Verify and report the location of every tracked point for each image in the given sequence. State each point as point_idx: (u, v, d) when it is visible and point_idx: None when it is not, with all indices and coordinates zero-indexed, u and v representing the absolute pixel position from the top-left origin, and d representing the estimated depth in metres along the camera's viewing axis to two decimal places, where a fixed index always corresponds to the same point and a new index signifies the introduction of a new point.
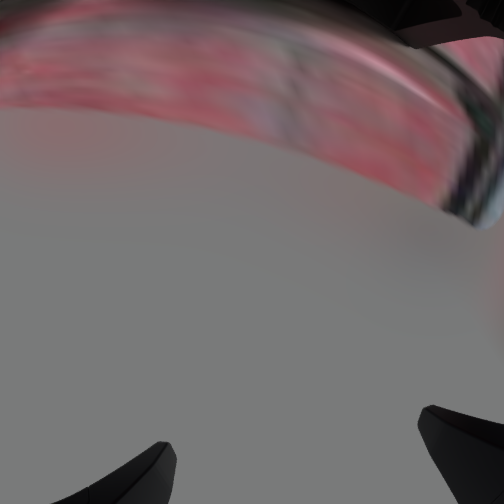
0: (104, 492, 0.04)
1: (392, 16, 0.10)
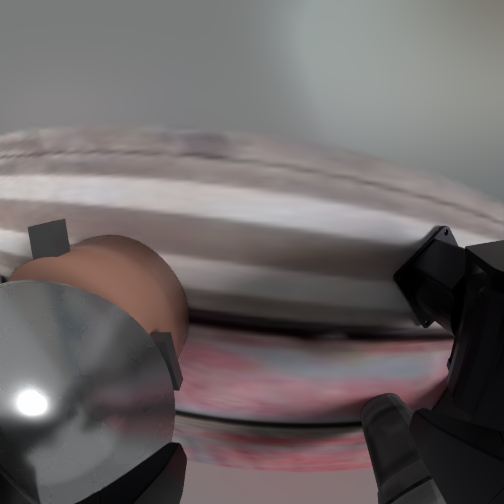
0: (117, 495, 0.04)
1: None
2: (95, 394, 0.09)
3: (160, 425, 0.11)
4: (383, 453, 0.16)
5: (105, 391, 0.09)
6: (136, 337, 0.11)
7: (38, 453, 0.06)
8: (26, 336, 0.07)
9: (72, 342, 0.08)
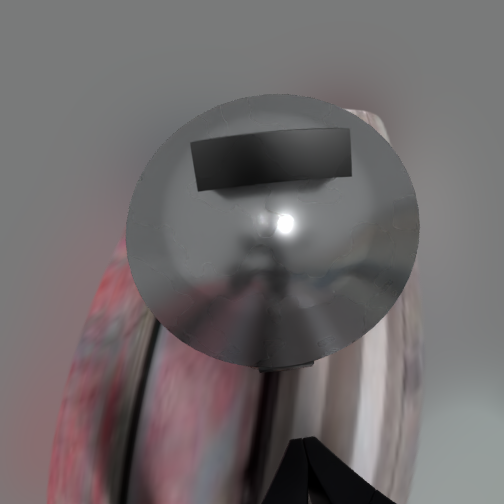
0: None
1: None
2: (310, 304, 0.12)
3: (237, 351, 0.13)
4: None
5: (308, 313, 0.12)
6: (337, 343, 0.13)
7: (280, 226, 0.10)
8: (383, 260, 0.11)
9: (362, 295, 0.12)
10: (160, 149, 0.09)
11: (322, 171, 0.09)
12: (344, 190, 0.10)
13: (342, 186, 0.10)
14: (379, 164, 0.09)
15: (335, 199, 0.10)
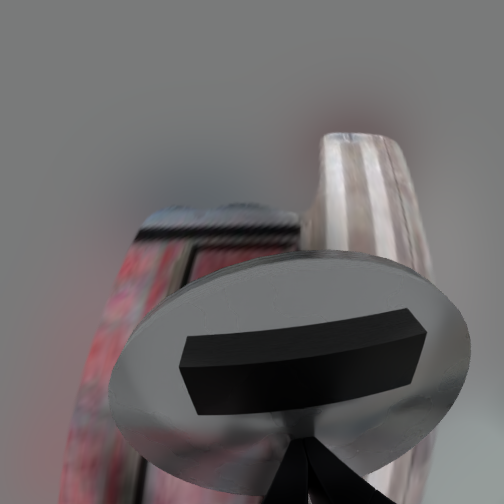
0: None
1: None
2: None
3: (247, 489, 0.09)
4: None
5: None
6: None
7: (305, 418, 0.07)
8: (417, 419, 0.08)
9: (387, 446, 0.08)
10: (136, 340, 0.06)
11: (374, 388, 0.05)
12: None
13: None
14: (442, 339, 0.06)
15: None
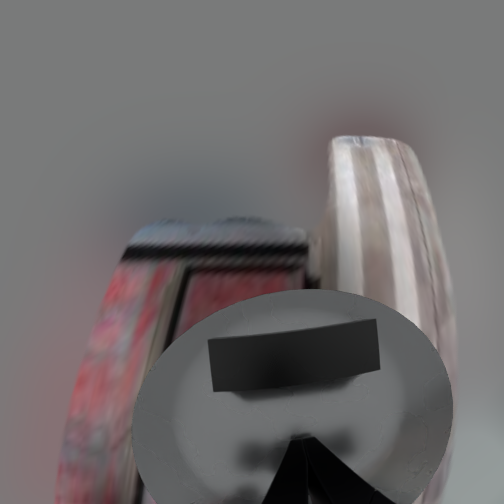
0: None
1: None
2: None
3: None
4: None
5: None
6: None
7: (302, 429, 0.08)
8: (416, 445, 0.07)
9: (394, 483, 0.07)
10: (176, 341, 0.09)
11: (349, 369, 0.07)
12: (372, 384, 0.08)
13: (370, 381, 0.08)
14: (407, 349, 0.08)
15: (362, 395, 0.08)
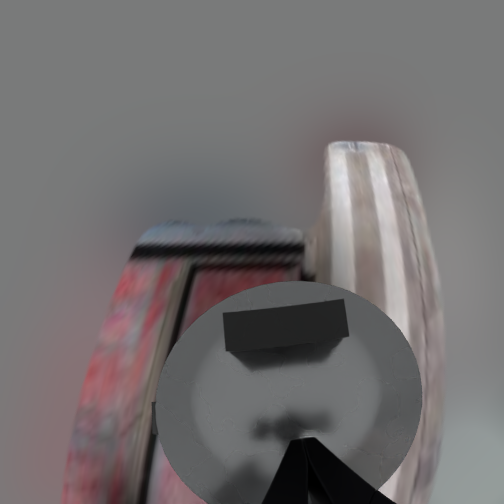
0: None
1: None
2: None
3: None
4: None
5: None
6: None
7: (293, 388, 0.11)
8: (390, 410, 0.10)
9: (375, 446, 0.10)
10: (198, 319, 0.12)
11: (324, 335, 0.11)
12: (346, 353, 0.11)
13: (344, 350, 0.11)
14: (374, 327, 0.12)
15: (339, 362, 0.11)
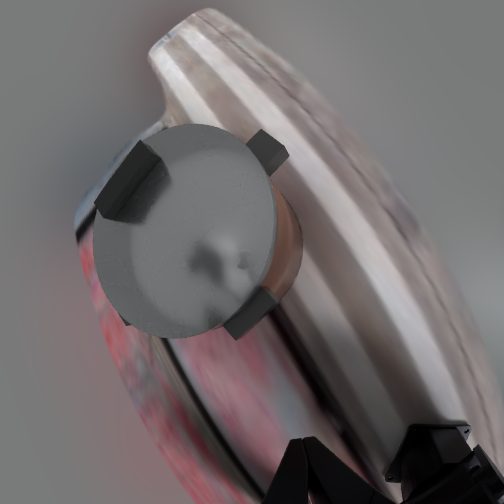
0: None
1: None
2: (201, 237, 0.14)
3: (186, 318, 0.14)
4: None
5: (205, 245, 0.14)
6: (256, 254, 0.13)
7: (151, 208, 0.15)
8: (223, 169, 0.14)
9: (232, 201, 0.14)
10: (95, 220, 0.17)
11: (139, 164, 0.15)
12: (168, 163, 0.15)
13: (166, 163, 0.15)
14: (176, 137, 0.15)
15: (167, 171, 0.15)
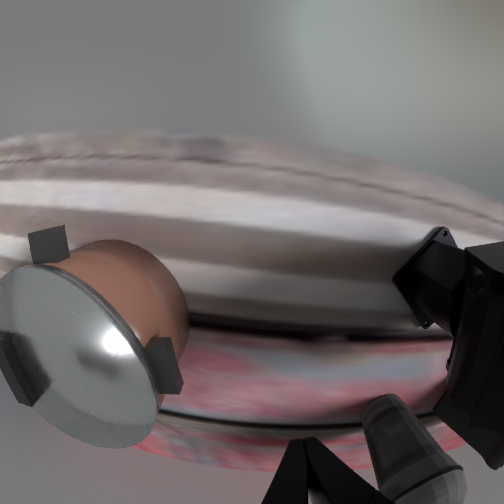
0: None
1: None
2: (78, 360, 0.11)
3: (137, 416, 0.12)
4: (383, 454, 0.16)
5: (85, 363, 0.11)
6: (111, 337, 0.11)
7: (40, 370, 0.12)
8: (35, 301, 0.11)
9: (61, 317, 0.11)
10: (33, 408, 0.13)
11: (3, 354, 0.11)
12: (14, 332, 0.11)
13: (13, 333, 0.11)
14: None
15: (19, 338, 0.11)
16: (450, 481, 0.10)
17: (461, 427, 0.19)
